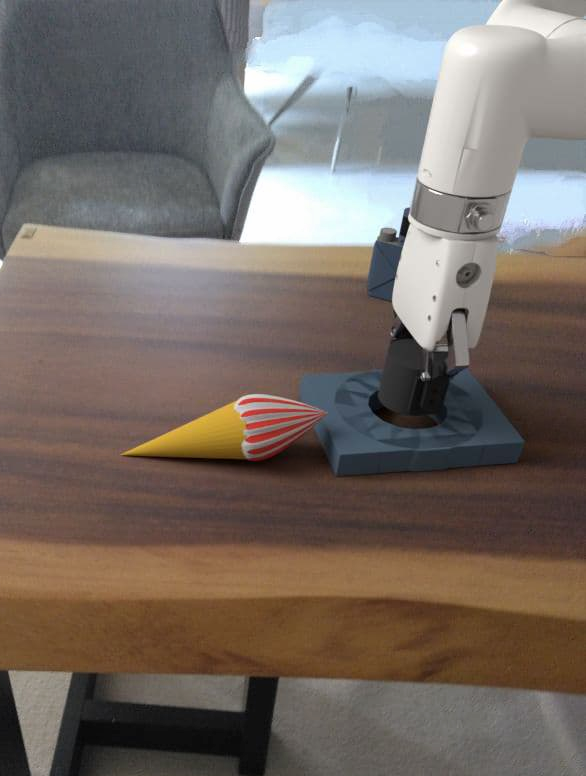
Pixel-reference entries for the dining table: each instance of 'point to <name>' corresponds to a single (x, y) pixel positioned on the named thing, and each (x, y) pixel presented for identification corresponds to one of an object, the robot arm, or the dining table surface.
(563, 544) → the dining table surface
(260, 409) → the ice cream cone
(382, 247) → the vaping device
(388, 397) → the dark grey cylinder
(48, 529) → the dining table surface
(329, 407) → the base pad
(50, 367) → the dining table surface
